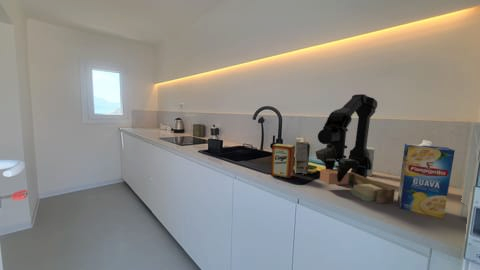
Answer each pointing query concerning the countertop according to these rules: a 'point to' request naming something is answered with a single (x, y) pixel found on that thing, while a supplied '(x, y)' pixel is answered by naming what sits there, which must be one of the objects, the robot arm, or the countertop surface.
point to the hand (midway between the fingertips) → (333, 178)
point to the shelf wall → (382, 194)
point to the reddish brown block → (332, 176)
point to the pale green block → (365, 192)
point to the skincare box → (371, 156)
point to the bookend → (350, 182)
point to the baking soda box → (282, 160)
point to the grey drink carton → (302, 157)
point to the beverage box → (425, 179)
